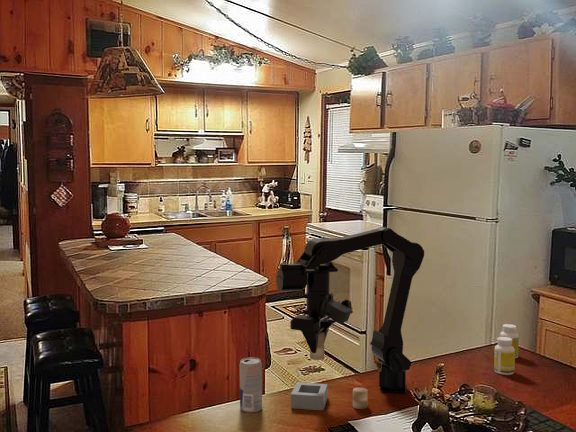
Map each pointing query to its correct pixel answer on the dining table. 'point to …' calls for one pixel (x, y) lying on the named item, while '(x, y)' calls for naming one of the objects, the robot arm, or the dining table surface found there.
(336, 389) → the dining table surface
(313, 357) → the beige peg
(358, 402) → the short pin
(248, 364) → the energy drink
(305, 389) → the hole block
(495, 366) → the supplement bottle
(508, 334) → the supplement bottle
